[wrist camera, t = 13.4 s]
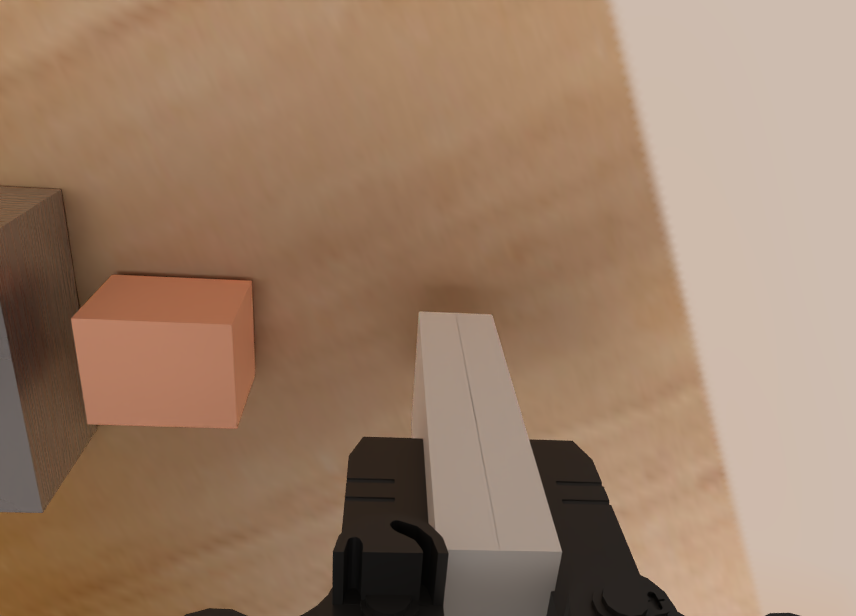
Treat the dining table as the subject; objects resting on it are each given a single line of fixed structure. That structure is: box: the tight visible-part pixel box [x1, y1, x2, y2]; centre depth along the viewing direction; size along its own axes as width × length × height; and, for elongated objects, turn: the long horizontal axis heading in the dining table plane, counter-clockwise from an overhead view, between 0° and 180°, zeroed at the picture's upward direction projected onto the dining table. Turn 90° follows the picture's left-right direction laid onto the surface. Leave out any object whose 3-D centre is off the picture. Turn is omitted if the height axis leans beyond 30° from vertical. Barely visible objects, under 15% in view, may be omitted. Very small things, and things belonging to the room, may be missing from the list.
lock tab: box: [71, 275, 255, 429], centre depth 15 cm, size 3×2×2 cm
